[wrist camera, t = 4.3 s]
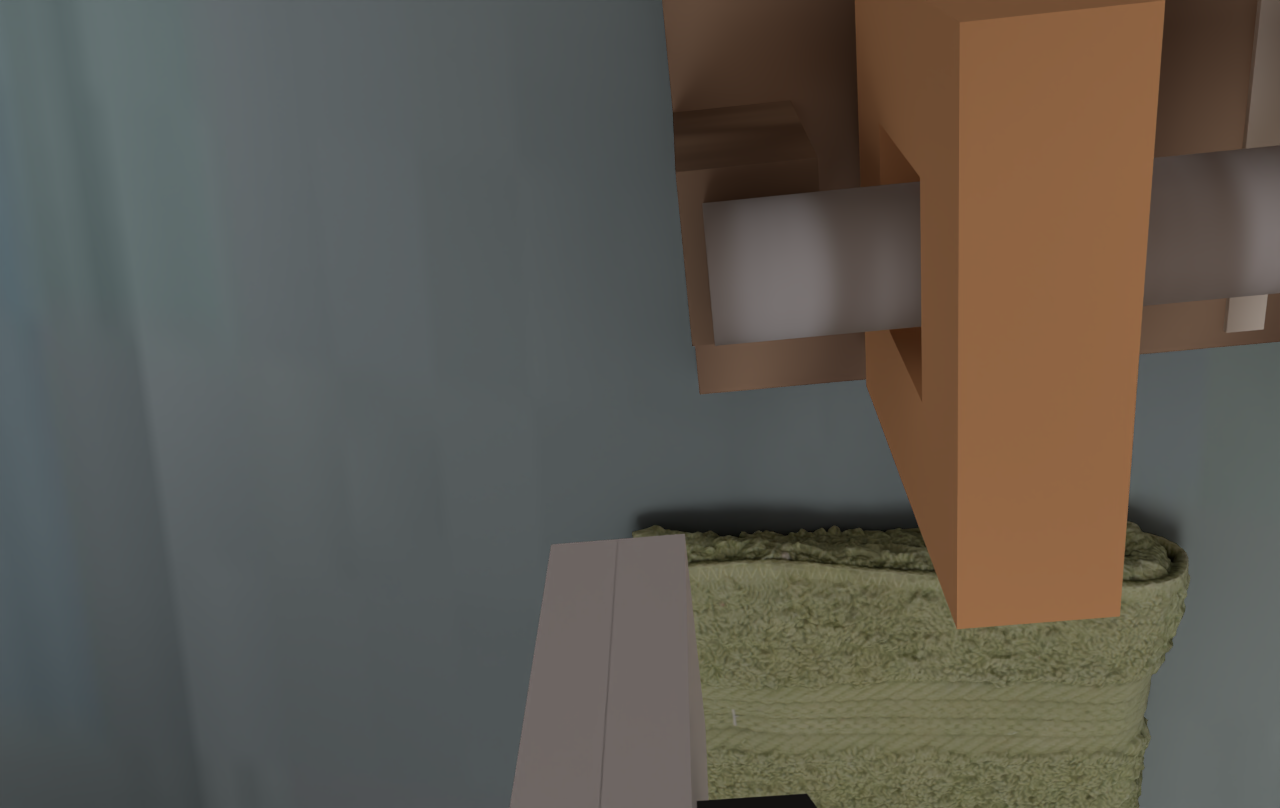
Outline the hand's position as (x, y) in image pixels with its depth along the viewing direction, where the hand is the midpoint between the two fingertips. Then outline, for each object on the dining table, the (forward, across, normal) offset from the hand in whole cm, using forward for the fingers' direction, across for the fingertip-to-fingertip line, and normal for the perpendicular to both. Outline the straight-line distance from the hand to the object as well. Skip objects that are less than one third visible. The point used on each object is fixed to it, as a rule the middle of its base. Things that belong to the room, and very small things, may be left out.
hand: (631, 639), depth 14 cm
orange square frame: (+18, -7, 0) cm, 20 cm away
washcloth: (+22, -6, +18) cm, 29 cm away
